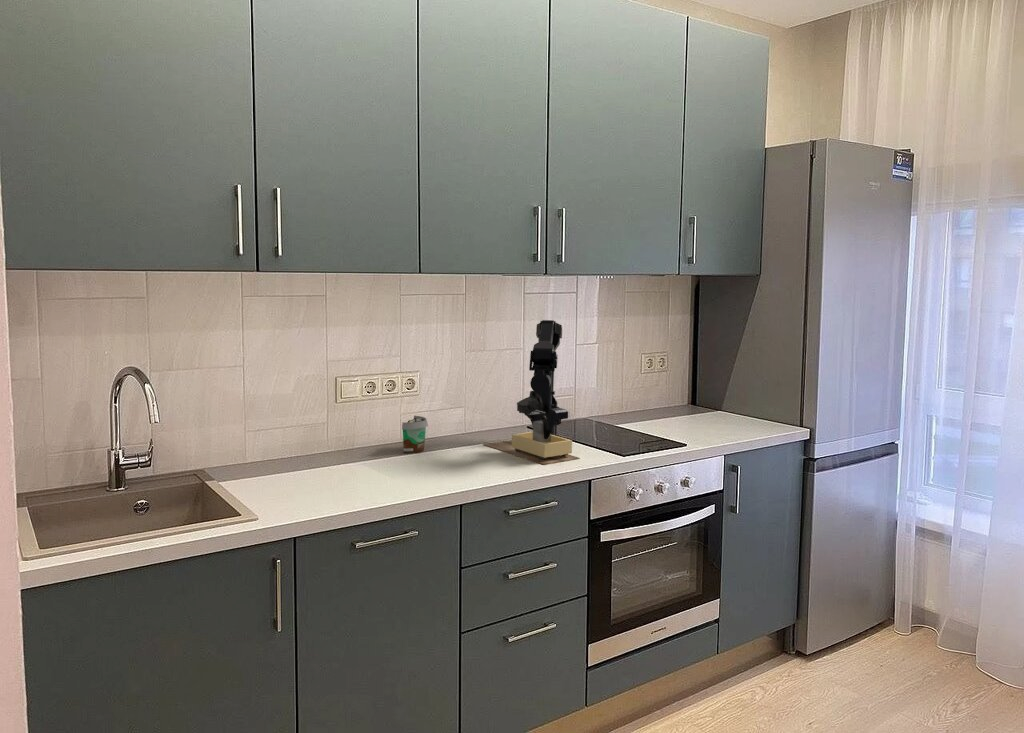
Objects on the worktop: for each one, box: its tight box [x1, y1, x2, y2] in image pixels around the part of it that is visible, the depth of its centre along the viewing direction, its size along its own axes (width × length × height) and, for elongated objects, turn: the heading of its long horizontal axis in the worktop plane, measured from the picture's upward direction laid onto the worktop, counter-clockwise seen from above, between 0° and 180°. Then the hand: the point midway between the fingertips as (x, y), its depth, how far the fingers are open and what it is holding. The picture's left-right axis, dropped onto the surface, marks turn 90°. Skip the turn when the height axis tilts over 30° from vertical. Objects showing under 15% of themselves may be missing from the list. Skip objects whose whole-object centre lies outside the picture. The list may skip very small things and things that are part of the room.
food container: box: [401, 415, 429, 455], centre depth 263 cm, size 12×6×10 cm, turn 168°
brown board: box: [482, 439, 581, 466], centre depth 264 cm, size 14×32×1 cm, turn 36°
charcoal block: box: [532, 421, 551, 443], centre depth 259 cm, size 4×4×6 cm
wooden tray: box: [511, 431, 573, 460], centre depth 259 cm, size 11×17×5 cm, turn 36°
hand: (541, 437), depth 259 cm, fingers closed on charcoal block, 4 cm apart
